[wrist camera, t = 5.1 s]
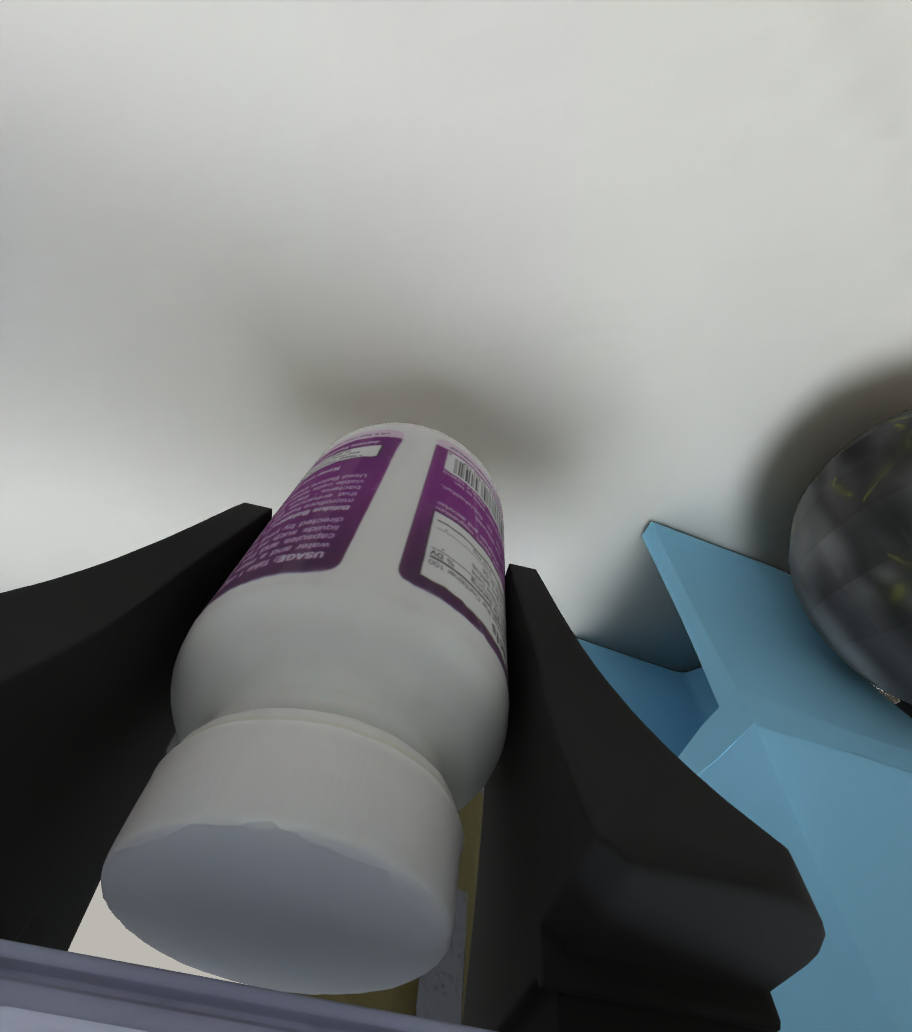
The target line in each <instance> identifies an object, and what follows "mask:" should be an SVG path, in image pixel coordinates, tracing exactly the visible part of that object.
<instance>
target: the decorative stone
mask: <svg viewBox="0 0 912 1032" xmlns="http://www.w3.org/2000/svg"><path fill="white" fill-rule="evenodd" d="M788 560H789V567H790V573H791V578H792V581H793V585H794V589H795V593H796V596H797V598H798V600H799V602H800V604H801V606H802V608H803V610H804V612H805V614H806V616H807V618H808V619H809V621H810V623H811V625H812V626H813V627H814V629H815V630H816V631H817V633H818V634H819V635H820V637H821V638H822V640H823V641H824V642H825V643H826V644H827V645H828V646H829V647H830V648H831V649H832V650H833V651H834V652H835V653H836V654H837V655H838V656H839V657H840V658H841V659H842V660H843V661H844V662H845V663H846V664H847V665H848V666H849V667H850V668H851V669H853V670H854V671H855V672H857V673H858V674H860V675H861V676H862V677H864V678H865V679H867V680H868V681H869V682H871V683H872V684H873V685H875V686H877V687H878V688H880V689H882V690H883V691H885V692H887V693H888V694H890V695H892V696H894V697H896V698H898V699H900V700H903V701H905V702H907V703H909V704H912V409H910V410H907V411H905V412H903V413H901V414H898V415H896V416H894V417H892V418H890V419H888V420H886V421H883V422H881V423H879V424H877V425H876V426H874V427H873V428H871V429H870V430H868V431H866V432H865V433H863V434H862V435H860V436H859V437H857V438H855V439H854V440H853V441H852V442H851V443H850V444H848V445H847V446H846V447H845V448H844V449H843V450H841V451H840V452H839V453H838V454H837V455H836V456H835V457H834V458H833V459H832V460H831V461H830V462H829V463H828V464H827V465H826V466H825V467H824V468H823V469H822V470H821V472H820V473H819V474H818V475H817V476H816V477H815V479H814V480H813V481H812V482H811V483H810V485H809V486H808V488H807V489H806V491H805V493H804V495H803V496H802V498H801V500H800V502H799V503H798V506H797V509H796V512H795V515H794V518H793V521H792V529H791V538H790V548H789V557H788Z"/></svg>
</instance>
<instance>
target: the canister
mask: <svg viewBox="0 0 912 1032" xmlns="http://www.w3.org/2000/svg"><path fill="white" fill-rule="evenodd" d="M483 799H484V786H483V788H482V789H481V790H480V791H479V792H478V794H477V795H476V796H475V797H474V798H473V799H472V800H471V801H470V802H468V803H467V804H466V805H465V806H464V807H463V808H461V809H460V810H459V811H457V812H458V814H459V817H460V821H461V824H462V828H463V835H464V843H463V849H462V853H461V858H460V865H459V876H458V887H457V898H456V908H455V918H454V927H453V934H452V939H451V944H450V948H449V949H448V951H447V953H446V954H445V955H444V956H443V958H442V959H441V961H440V962H439V964H437V965H436V966H435V967H434V968H433V969H431V970H430V971H429V972H428V973H426V974H425V975H422V976H420V977H418V978H417V979H415V980H412V981H410V982H408V983H405V984H403V985H400V986H397V987H395V988H391V989H387V990H380V991H372V992H366V993H357V994H334V995H332V994H320V995H311V994H301V993H294V994H299V995H304V996H310V997H315V998H320V999H326V1000H331V1001H336V1002H342V1003H347V1004H353V1005H358V1006H363V1007H369V1008H374V1009H379V1010H385V1011H390V1012H396V1013H401V1014H406V1015H412V1016H417V1017H422V1018H428V1019H433V1020H438V1021H444V1022H449V1023H455V1024H460V1025H462V1019H463V1010H464V1001H465V992H466V983H467V974H468V965H469V956H470V947H471V937H472V927H473V917H474V906H475V896H476V886H477V874H478V863H479V851H480V839H481V826H482V812H483ZM288 993H292V992H288Z"/></svg>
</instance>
